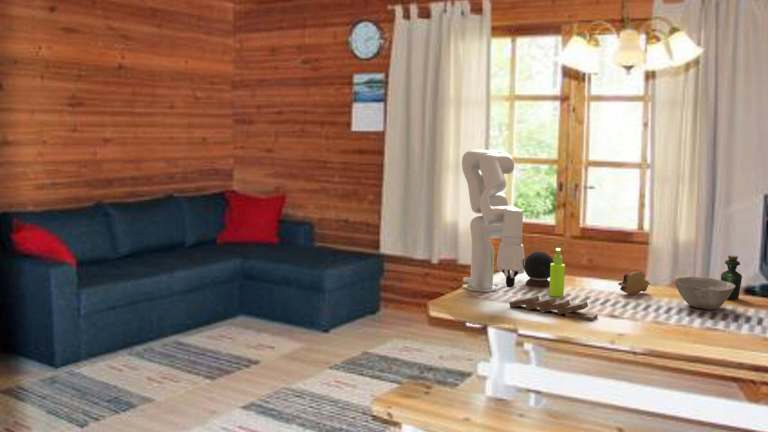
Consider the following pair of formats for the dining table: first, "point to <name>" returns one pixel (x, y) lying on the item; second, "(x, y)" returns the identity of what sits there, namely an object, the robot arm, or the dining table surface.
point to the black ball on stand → (538, 269)
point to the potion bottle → (732, 276)
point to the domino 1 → (524, 301)
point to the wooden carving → (634, 283)
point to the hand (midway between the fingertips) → (510, 286)
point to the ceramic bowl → (704, 291)
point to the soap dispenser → (557, 276)
